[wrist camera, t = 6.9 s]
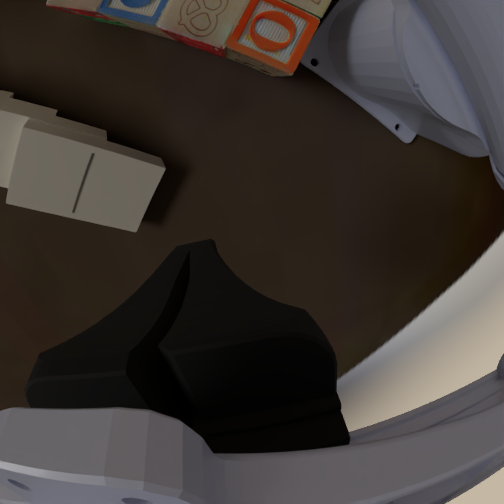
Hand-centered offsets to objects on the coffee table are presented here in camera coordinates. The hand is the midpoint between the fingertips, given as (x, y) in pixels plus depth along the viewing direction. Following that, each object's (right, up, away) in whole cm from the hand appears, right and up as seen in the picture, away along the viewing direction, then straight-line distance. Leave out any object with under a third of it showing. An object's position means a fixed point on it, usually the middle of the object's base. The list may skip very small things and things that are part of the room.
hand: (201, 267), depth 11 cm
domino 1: (-5, +4, +9) cm, 11 cm away
